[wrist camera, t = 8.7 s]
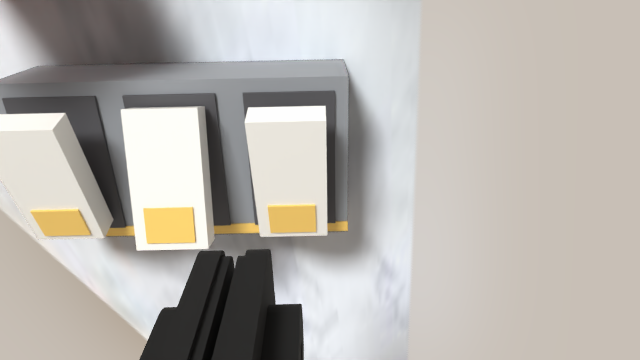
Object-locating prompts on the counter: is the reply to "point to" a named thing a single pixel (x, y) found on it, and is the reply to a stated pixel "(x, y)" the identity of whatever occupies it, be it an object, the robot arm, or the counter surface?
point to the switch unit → (188, 91)
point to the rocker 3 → (289, 169)
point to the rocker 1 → (51, 177)
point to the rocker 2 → (169, 177)
